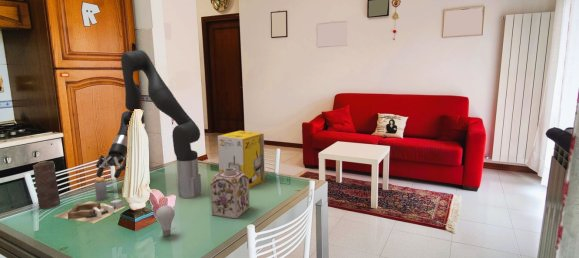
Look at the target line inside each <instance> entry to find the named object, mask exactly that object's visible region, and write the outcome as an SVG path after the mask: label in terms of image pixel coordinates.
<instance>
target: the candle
mask: <svg viewBox="0 0 579 258" xmlns="http://www.w3.org/2000/svg"><path fill="white" fill-rule="evenodd" d="M32 168H33V174H34V181H35V182H34V183H35V188H36V189H35V190H36V193H37V194H36V195H37V200H38V201H37V202H38V206H39V207H38V208H39V209H42V210H46V209H52V208H56V207H58V206H60V205H61V200H60V193H59V187H58V181H57V180H58V179H57V175H56V167H55V161H53V160H45V161H39V162H37V163H36V164H34V165H32Z"/></svg>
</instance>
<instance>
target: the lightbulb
mask: <svg viewBox="0 0 579 258" xmlns="http://www.w3.org/2000/svg"><path fill="white" fill-rule="evenodd" d="M175 214H176V213H175V210H174V208H173V207H172V206H170V205H162V206H160V207H158V209H157V210H156V212H155V218H156V220H157V222H159V225H160V228H161V230H162V234H163V236H165V237H168V236H170V235H171V230H172V224H173V223H172V222H173V220H174V217H175Z"/></svg>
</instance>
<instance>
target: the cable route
mask: <svg viewBox="0 0 579 258" xmlns="http://www.w3.org/2000/svg"><path fill="white" fill-rule="evenodd" d="M109 204H110V206H109V205H103V210H104V211H102V212H101V210H99V209H98V208H97V207H95V208H93V209H94V211H95V214H93V215H86V218H92V217H96V216H97V217H99V218H100V217H102V215H103V214H106V213H111V215H113V214H115V213H114V209H118V208H120V207H122V206H124V205H123V204H124V203H123V200H122V199H113V200H112V201H110V202H109Z"/></svg>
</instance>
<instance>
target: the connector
mask: <svg viewBox="0 0 579 258" xmlns="http://www.w3.org/2000/svg"><path fill="white" fill-rule="evenodd" d="M93 184H94V190H95V199H96V200H95V201H96V202H97V201H105V200H107V199H108V198H109V197H108V190H107V189H108V188H107V187H108V186H107V180H105V177H103V176H101V177H98V176H97V177H96V178H95V181H94V183H93Z"/></svg>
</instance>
